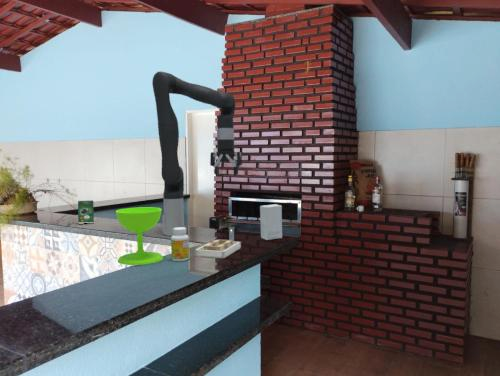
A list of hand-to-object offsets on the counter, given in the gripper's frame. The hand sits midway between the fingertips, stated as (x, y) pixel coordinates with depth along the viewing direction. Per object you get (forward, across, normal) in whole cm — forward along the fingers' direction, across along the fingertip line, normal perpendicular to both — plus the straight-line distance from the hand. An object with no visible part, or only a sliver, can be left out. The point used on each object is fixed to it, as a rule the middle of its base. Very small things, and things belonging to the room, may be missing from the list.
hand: (226, 175), depth 186 cm
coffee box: (+28, +92, -17) cm, 98 cm away
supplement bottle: (+28, +2, +40) cm, 49 cm away
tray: (+28, -7, +26) cm, 39 cm away
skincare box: (+28, -19, -5) cm, 34 cm away
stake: (+28, -6, +10) cm, 30 cm away
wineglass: (+28, +16, +44) cm, 55 cm away
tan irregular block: (+28, -7, +26) cm, 39 cm away
